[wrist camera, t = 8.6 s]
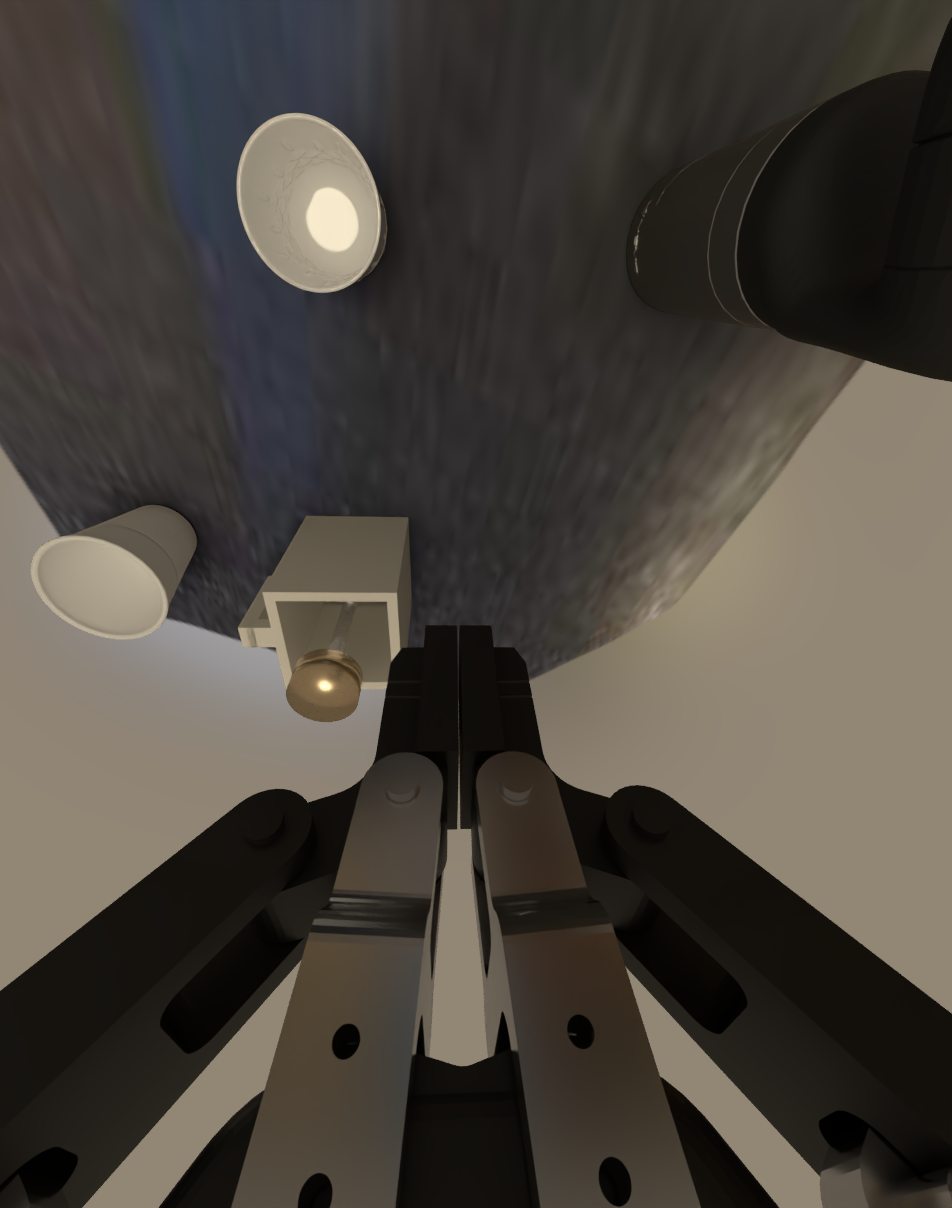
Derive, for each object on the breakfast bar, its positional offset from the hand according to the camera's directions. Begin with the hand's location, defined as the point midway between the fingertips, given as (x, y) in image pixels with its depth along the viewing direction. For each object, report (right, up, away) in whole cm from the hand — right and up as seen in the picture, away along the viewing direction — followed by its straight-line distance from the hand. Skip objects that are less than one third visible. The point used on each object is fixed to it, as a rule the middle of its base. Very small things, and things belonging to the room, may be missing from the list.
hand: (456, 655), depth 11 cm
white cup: (-9, +29, +25) cm, 39 cm away
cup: (-30, +8, +37) cm, 49 cm away
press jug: (-13, +6, +40) cm, 42 cm away
